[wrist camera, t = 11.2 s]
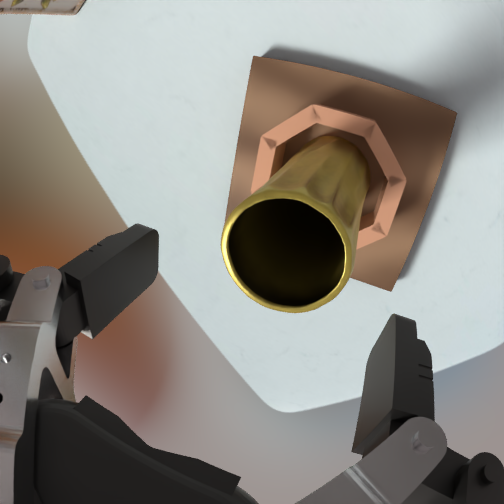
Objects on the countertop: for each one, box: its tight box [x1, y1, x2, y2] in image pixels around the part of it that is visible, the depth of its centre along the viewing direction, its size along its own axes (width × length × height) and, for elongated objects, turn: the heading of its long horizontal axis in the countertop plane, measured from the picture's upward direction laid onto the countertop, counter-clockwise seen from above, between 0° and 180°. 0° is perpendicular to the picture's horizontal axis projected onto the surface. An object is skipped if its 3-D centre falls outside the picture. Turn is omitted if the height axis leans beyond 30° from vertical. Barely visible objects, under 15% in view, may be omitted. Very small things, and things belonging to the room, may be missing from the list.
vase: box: [221, 136, 371, 313], centre depth 18 cm, size 6×6×14 cm
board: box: [224, 56, 457, 292], centre depth 25 cm, size 16×16×2 cm
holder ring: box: [251, 104, 406, 250], centre depth 23 cm, size 10×10×3 cm
